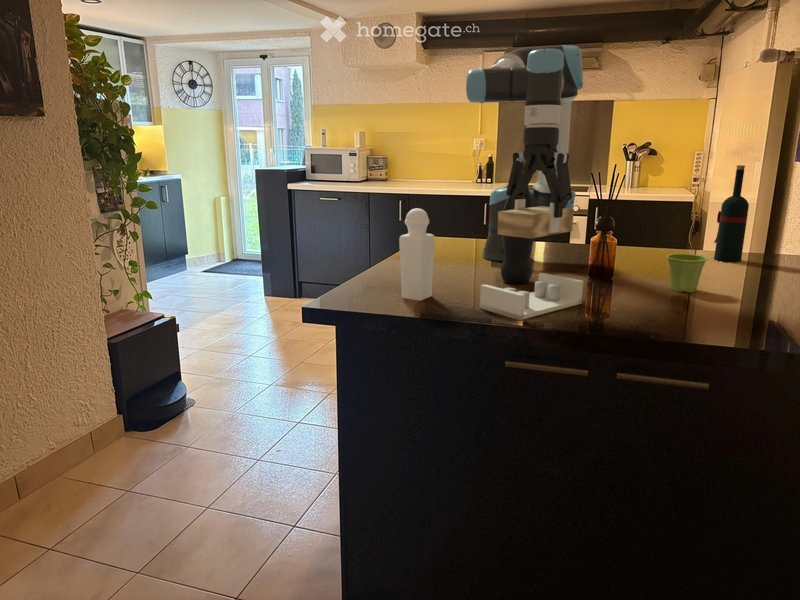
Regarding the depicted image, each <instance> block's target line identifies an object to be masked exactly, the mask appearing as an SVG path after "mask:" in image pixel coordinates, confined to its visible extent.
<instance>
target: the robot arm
mask: <svg viewBox="0 0 800 600" xmlns="http://www.w3.org/2000/svg"><path fill="white" fill-rule="evenodd" d="M582 58H583V57H582V50H581V48H580V47H579V46H577V45H569V44H567V45H565V44H562V45H550V46H549V45H548V46H534V47H531V46H529V47H523V48H519V49H515V50H512V51H510V52H507V53H505V54H503V55H501V56H499V57H498V58H496V59H495V61H494V62H493V65H492V66H489V68H488V67H487V68H483V67H480V68H473V69H470V70H468V72H467V73H466V74H467V75H466V81H465V91H466V99H467V100H468V101H469V102H470V103H480V104H484V103H504V102H505V103H508V102H515V103H516V102H517V103H519V102H523V103H524V102H525V103H524V122H523V123H524V125H525V126H526V127H524V129H523V138H522V139H523V140H522V144H523V145H524V150H523V152H513V154H512V165H511V166H512V167H511V170H510V175H509V180H508V182H507V187H501V188H500V187H499V188H496V189H493V190H492V191H491V193H490V197H489V204H488V205H489V213H488V214H489V217H488V218H489V220H488V235H487V238H486V241H485V244H484V248H483V249H482V258H484V259H486V260H491V261H496V262H497V261H498V262H503V261H504V248H503V239H502V235H501V234H498V212H499V211H504V206H505V203H506V201H507V198H508V196H511V197H512V198H513V210H515V209H523V208H525V199H521V198H524V196H523V195H524V193H525V191H526V189H527V187H528V188H529V184H530V182H531V181H532V178H533V175H534V174H535V173H537V171H538V180H537V181H536V182H535V183H534V184H533V186H532V190H529V191H530V193H531V196H532V198H533V201H534V205H535V207H539V206H543V207H550V212H549V229H548V233H555V232H559V221H560V217H562V215H563V208H567V209H574V203H575V198H576V192H575V191H574V190H572V185H571V177H570V170H569V159H570V154H569V149H570V147H569V146H570V130H571V117H572V116H571V115H572V102H573V101H574V100H575V98H577V97H578V94H579V93H578V92H579V91H580V90H582V89H583V88H584V74H583V73H584V72H583V59H582ZM522 171H523V172H522Z"/></svg>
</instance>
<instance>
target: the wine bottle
mask: <svg viewBox="0 0 800 600" xmlns="http://www.w3.org/2000/svg"><path fill="white" fill-rule="evenodd" d="M745 167H746V165H741V164H740V165H739V164H738V165H737V164H736V170H735V176H734V177H735V178H734V183H733V184H734V185H733V190H732V191H733V192H732V196H731V195H730V196H729V197H727V198H726V199H725V200H724V201H723V202H722V203H721V208H720V209H721V210H718V213H717V219H716V222H717V224H718V228H717V233H716V238H715V239H714V242H713V244H715V250H714V254H713V255H714V257H713V260H714V261H716V260H717V261H716V262H720V261H722V263H728V262H732V264H734V263H741V262H742V256H743V249H744V243H745V236H746V229H747V222H748V215H749V214H748V213H749V207H750V204H749V202H748V200H747V199H746V198H745V197H743V196H742V189H743V188H742V187H743V181H744V176H745V175H744V174H745Z"/></svg>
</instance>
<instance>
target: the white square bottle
mask: <svg viewBox="0 0 800 600" xmlns="http://www.w3.org/2000/svg"><path fill="white" fill-rule="evenodd" d="M429 224H430V219H429V216H428V213H427V211H425V210H424V209H423V208H419V207H418V208H417V207H415V208H412V209H410V210H409V211H408V212H407V213H406V216H405V219H404V225H406V227H407V233H406V234H402V235H400V236H399V237H398V238H399V239H398V240H399V241H398V242H399V243H398V244H399V260H400V261H399V262H400V264H399V267H400V282H401V283H400V286H401V289H400V290H401V298H402V299H407V300H412V301H419V302H420V301H424V300H426V299H428V298H430V297H432V294H433V278H434V277H433V276H434V261H435V257H434V255H435V241H436V239H435V238H436V237H435V235H434V234H432V233H427V229H428V226H429Z"/></svg>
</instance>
